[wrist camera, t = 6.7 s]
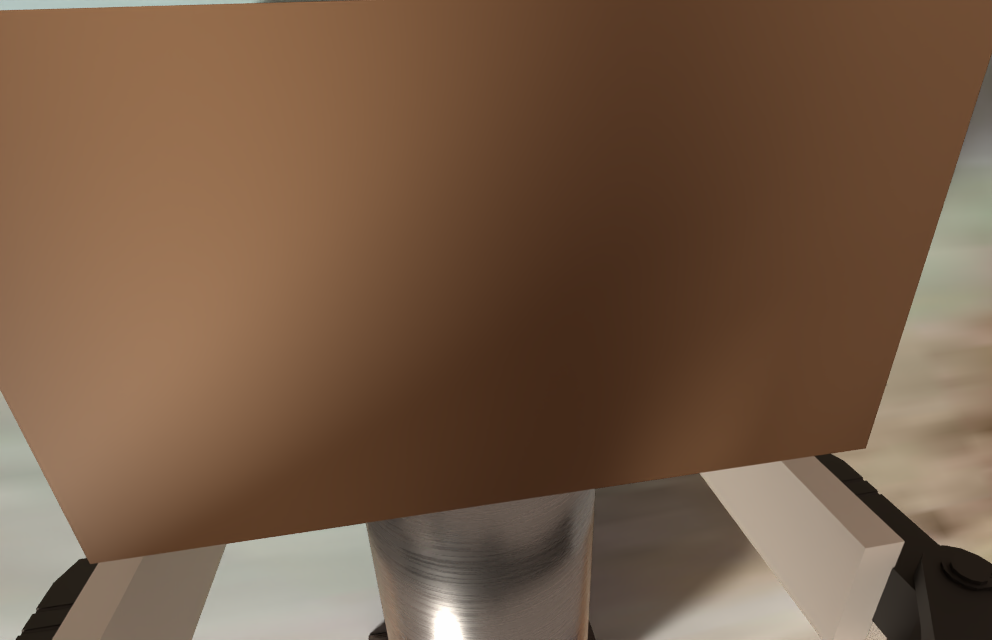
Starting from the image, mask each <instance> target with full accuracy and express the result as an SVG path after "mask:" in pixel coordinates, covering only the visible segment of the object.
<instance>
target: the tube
mask: <svg viewBox="0 0 992 640" xmlns="http://www.w3.org/2000/svg"><path fill="white" fill-rule="evenodd" d="M594 505H595V489H590V490H583V491H576V492H570V493H563V494H556V495H550V496H543V497H536V498H529V499H523V500H516V501H509V502H503V503H496V504H489V505H483V506H476V507H469V508H462V509H456V510H449V511H442V512H436V513H429V514H422V515H416V516H409V517H402V518H396V519H389V520H382V521H375V522H369V523H366V526H367V531H368V537H369V542H370V547H371V552H372V557H373V562H374V568H375V573H376V578H377V583H378V588H379V593H380V598H381V604H382V609H383V614H384V619H385V624H386V629H387V634H388V640H588V622H589V603H590V583H591V564H592V544H593V525H594Z"/></svg>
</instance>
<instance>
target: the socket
mask: <svg viewBox="0 0 992 640" xmlns="http://www.w3.org/2000/svg"><path fill="white" fill-rule="evenodd" d="M991 54H992V0H352V1H317V2H282V3H247V4H212V5H177V6H142V7H106V8H71V9H36V10H1V11H0V390H1V392H2V394H3V396H4V398H5V400H6V402H7V404H8V406H9V408H10V410H11V411H12V413H13V415H14V417H15V419H16V421H17V423H18V425H19V427H20V429H21V431H22V433H23V435H24V437H25V439H26V441H27V443H28V445H29V446H30V448H31V450H32V452H33V454H34V456H35V458H36V460H37V462H38V464H39V466H40V468H41V470H42V472H43V474H44V476H45V478H46V480H47V481H48V483H49V485H50V487H51V489H52V491H53V493H54V495H55V497H56V499H57V501H58V503H59V505H60V507H61V509H62V511H63V513H64V515H65V516H66V518H67V520H68V522H69V524H70V526H71V528H72V530H73V532H74V534H75V536H76V538H77V540H78V542H79V544H80V546H81V548H82V550H83V551H84V553H85V555H86V557H87V559H88V561H89V563H90V564H94V563H101V562H108V561H114V560H121V559H128V558H134V557H141V556H148V555H155V554H161V553H168V552H175V551H181V550H188V549H195V548H201V547H208V546H215V545H221V544H228V543H235V542H242V541H248V540H255V539H262V538H268V537H275V536H282V535H288V534H295V533H302V532H308V531H315V530H322V529H329V528H335V527H342V526H349V525H355V524H362V523H369V522H375V521H382V520H389V519H396V518H402V517H409V516H416V515H422V514H429V513H436V512H442V511H449V510H456V509H462V508H469V507H476V506H483V505H489V504H496V503H503V502H509V501H516V500H523V499H529V498H536V497H543V496H550V495H556V494H563V493H570V492H576V491H583V490H590V489H596V488H603V487H610V486H616V485H623V484H630V483H637V482H643V481H650V480H657V479H663V478H670V477H677V476H683V475H690V474H697V473H704V472H710V471H717V470H724V469H730V468H737V467H744V466H750V465H757V464H764V463H770V462H777V461H784V460H791V459H797V458H804V457H811V456H817V455H824V454H831V453H837V452H844V451H851V450H857V449H864V448H866V446H867V443H868V440H869V436H870V433H871V430H872V427H873V424H874V421H875V418H876V414H877V411H878V408H879V405H880V402H881V399H882V396H883V393H884V389H885V386H886V383H887V380H888V377H889V374H890V371H891V367H892V364H893V361H894V358H895V355H896V352H897V349H898V345H899V342H900V339H901V336H902V333H903V330H904V327H905V324H906V320H907V317H908V314H909V311H910V308H911V305H912V302H913V298H914V295H915V292H916V289H917V286H918V283H919V280H920V277H921V273H922V270H923V267H924V264H925V261H926V258H927V255H928V251H929V248H930V245H931V242H932V239H933V236H934V233H935V230H936V226H937V223H938V220H939V217H940V214H941V211H942V208H943V204H944V201H945V198H946V195H947V192H948V189H949V186H950V183H951V179H952V176H953V173H954V170H955V167H956V164H957V161H958V157H959V154H960V151H961V148H962V145H963V142H964V139H965V136H966V132H967V129H968V126H969V123H970V120H971V117H972V114H973V110H974V107H975V104H976V101H977V98H978V95H979V92H980V89H981V85H982V82H983V79H984V76H985V73H986V70H987V67H988V63H989V60H990V57H991Z"/></svg>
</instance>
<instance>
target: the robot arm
mask: <svg viewBox="0 0 992 640" xmlns="http://www.w3.org/2000/svg"><path fill="white" fill-rule="evenodd" d="M700 474H701V476H702V477H703V479H704V480H705V481H706V483H707V484H708V485H709V487H710V488H711V489H712V491H713V492H714V493H715V495H716V496H717V498H718V499H719V500H720V502H721V503H722V504H723V506H724V507H725V508H726V510H727V511H728V512H729V514H730V515H731V517H732V518H733V519H734V521H735V522H736V523H737V525H738V526H739V527H740V529H741V530H742V531H743V533H744V534H745V536H746V537H747V538H748V540H749V541H750V542H751V544H752V545H753V546H754V548H755V549H756V550H757V552H758V553H759V555H760V556H761V557H762V559H763V560H764V561H765V563H766V564H767V565H768V567H769V568H770V569H771V571H772V572H773V574H774V575H775V576H776V578H777V579H778V580H779V582H780V583H781V584H782V586H783V587H784V588H785V590H786V591H787V593H788V594H789V595H790V597H791V598H792V599H793V601H794V602H795V603H796V605H797V606H798V607H799V609H800V610H801V612H802V613H803V614H804V616H805V617H806V618H807V620H808V621H809V622H810V624H811V625H812V626H813V628H814V629H815V631H816V632H817V633H818V635H819V636H820V637H821V639H822V640H866V638H867V636H868V633H869V631H870V628H871V626H872V623H873V622H874V623H875V624H876V626H877V627H878V628H879V629H880V630H881V631H882V633H883V634H884V635H885V636H886V637H887V640H992V564H991V563H990V562H988V561H986V560H985V559H983V558H981V557H980V556H978V555H976V554H973V553H971V552H968V551H966V550H963V549H961V548H956V547H950V546H945V545H943V546H940V545H938V544H937V543H936V542H935V541H934V540H933V539H931V538H930V537H929V536H928V535H927V534H926V533H925V532H924V531H922V530H921V529H920V528H919V527H918V526H917V525H916V524H915V523H913V522H912V521H911V520H910V519H909V518H908V517H907V516H906V515H904V514H903V513H902V512H901V511H900V510H899V509H898V508H897V507H895V506H894V505H893V504H892V503H891V502H890V501H889V500H888V499H886V498H885V497H884V496H883V495H882V494H880V495H879V494H878V491H877V490H876V489H875V488H874V487H873V486H872V485H871V484H870V483H868V482H867V481H864V480H863V477H862V476H860V475H859V474H858V473H857V472H856V471H855V470H854V469H853V468H851V467H850V466H849V465H848V464H847V463H846V462H845V461H843V460H841V459H839V458H838V457H836V456H834V455H832V454H824V455H817V456H811V457H804V458H797V459H791V460H784V461H777V462H770V463H764V464H757V465H750V466H744V467H737V468H730V469H724V470H717V471H710V472H704V473H700ZM225 547H226V544H221V545H215V546H208V547H201V548H195V549H188V550H181V551H175V552H168V553H161V554H155V555H148V556H141V557H134V558H128V559H121V560H114V561H108V562H101V563H94V564H90V563H89V561H88V559H87V558H85V559H79V560H78V561H77V562H76V563H75V564H74V565H73V566H72V567H70V568H69V569H68V570H67V571H66V572H65V573H64V574H63V575H62V576H61V577H60V578H58V579H57V580H56V581H55V582H54V583H53V584H52V586H51V587H50V589H49V590H48V592H47V593H46V595H45V596H44V598H43V599H42V601H41V602H40V604H39V605H38V607H37V608H36V610H37V611H36V613H35V614H32V616H31V617H30V619H29V620H28V622H27V623H26V625H25V626H24V628H23V629H22V634H21V635H20V636H18V637H17V638H16V640H192V637H193V635H194V632H195V629H196V626H197V624H198V621H199V618H200V615H201V613H202V610H203V607H204V604H205V602H206V599H207V596H208V593H209V591H210V588H211V585H212V582H213V580H214V577H215V574H216V571H217V569H218V566H219V563H220V560H221V558H222V555H223V552H224V549H225Z"/></svg>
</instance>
